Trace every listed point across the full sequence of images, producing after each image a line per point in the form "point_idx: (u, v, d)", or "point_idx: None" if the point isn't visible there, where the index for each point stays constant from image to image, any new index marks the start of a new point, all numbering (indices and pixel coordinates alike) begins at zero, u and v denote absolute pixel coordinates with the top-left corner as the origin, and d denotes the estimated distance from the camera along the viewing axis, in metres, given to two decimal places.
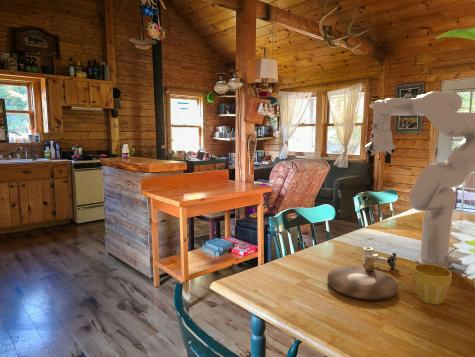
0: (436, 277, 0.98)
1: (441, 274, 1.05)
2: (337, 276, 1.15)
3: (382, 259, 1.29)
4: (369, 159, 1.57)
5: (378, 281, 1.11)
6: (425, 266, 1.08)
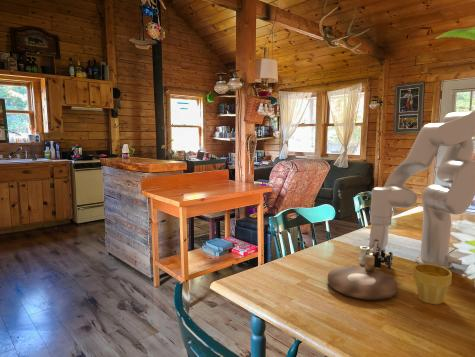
0: (436, 277, 0.98)
1: (441, 274, 1.05)
2: (337, 276, 1.15)
3: None
4: None
5: (378, 281, 1.11)
6: (425, 266, 1.08)
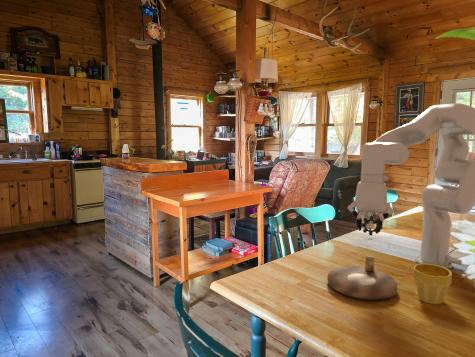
0: (436, 277, 0.98)
1: (441, 274, 1.05)
2: (337, 276, 1.15)
3: None
4: None
5: (378, 281, 1.11)
6: (425, 266, 1.08)
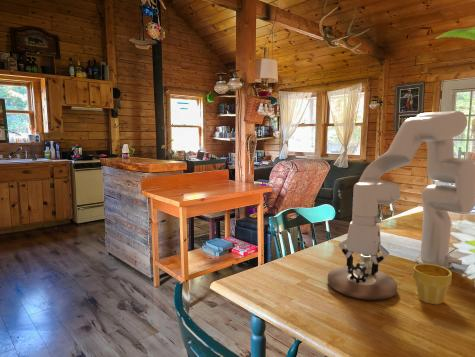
0: (436, 277, 0.98)
1: (441, 275, 1.05)
2: (337, 276, 1.15)
3: None
4: (377, 268, 1.09)
5: (378, 281, 1.11)
6: (425, 266, 1.08)
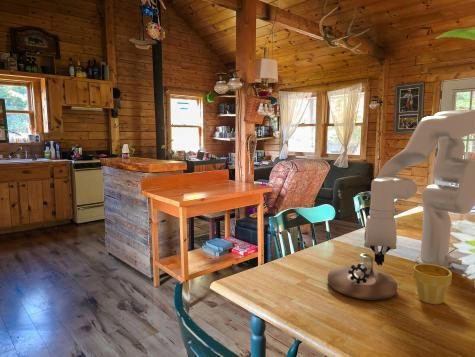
0: (436, 277, 0.98)
1: (441, 274, 1.05)
2: (337, 276, 1.15)
3: None
4: None
5: (378, 281, 1.11)
6: (425, 266, 1.08)
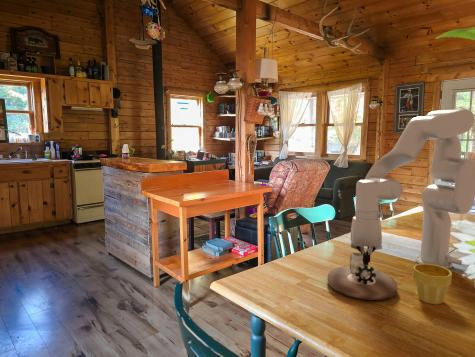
0: (436, 277, 0.98)
1: (441, 274, 1.05)
2: (340, 281, 1.11)
3: None
4: None
5: (376, 277, 1.14)
6: (425, 266, 1.08)
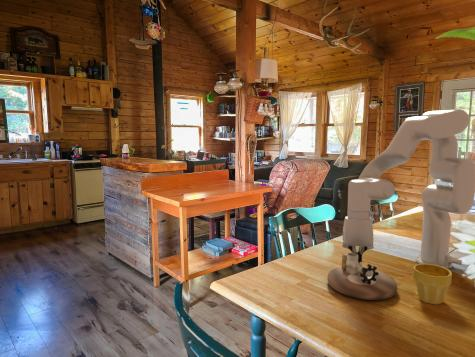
0: (436, 277, 0.98)
1: (441, 274, 1.05)
2: (345, 284, 1.09)
3: (359, 269, 1.12)
4: (361, 258, 1.21)
5: (372, 275, 1.15)
6: (425, 266, 1.08)
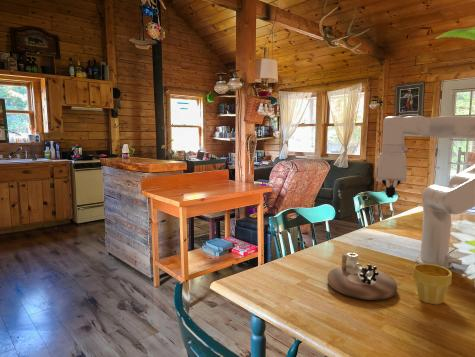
0: (436, 277, 0.98)
1: (441, 274, 1.05)
2: (345, 284, 1.09)
3: (359, 269, 1.12)
4: None
5: (372, 275, 1.15)
6: (425, 266, 1.08)
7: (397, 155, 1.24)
